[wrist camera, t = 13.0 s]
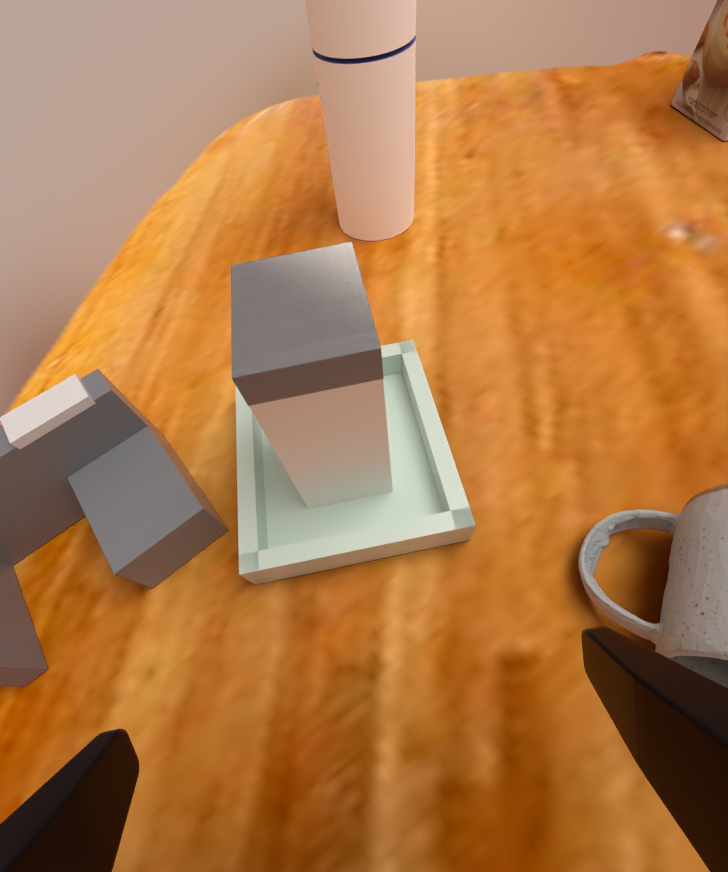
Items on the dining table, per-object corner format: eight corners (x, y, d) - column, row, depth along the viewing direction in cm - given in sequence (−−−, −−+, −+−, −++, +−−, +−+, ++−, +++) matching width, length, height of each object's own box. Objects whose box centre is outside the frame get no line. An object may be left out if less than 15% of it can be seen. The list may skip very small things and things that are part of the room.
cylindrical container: (357, 250, 37) (285, -345, 16) (328, 211, 40) (237, -315, 19) (427, 224, 38) (451, -369, 17) (393, 188, 41) (376, -336, 20)
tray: (469, 540, 23) (475, 525, 21) (255, 584, 22) (238, 574, 20) (412, 364, 29) (413, 339, 27) (247, 398, 29) (235, 375, 27)
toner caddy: (393, 491, 24) (381, 348, 14) (308, 509, 24) (231, 377, 14) (373, 408, 27) (352, 241, 17) (298, 423, 27) (230, 265, 17)
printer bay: (228, 529, 24) (165, 475, 18) (25, 686, 21) (-141, 687, 15) (163, 434, 28) (92, 363, 22) (-16, 553, 25) (-160, 509, 19)
